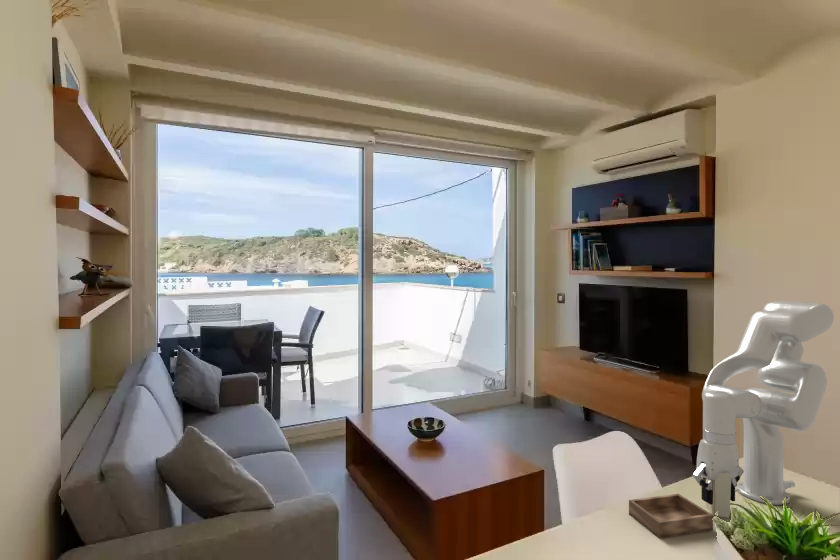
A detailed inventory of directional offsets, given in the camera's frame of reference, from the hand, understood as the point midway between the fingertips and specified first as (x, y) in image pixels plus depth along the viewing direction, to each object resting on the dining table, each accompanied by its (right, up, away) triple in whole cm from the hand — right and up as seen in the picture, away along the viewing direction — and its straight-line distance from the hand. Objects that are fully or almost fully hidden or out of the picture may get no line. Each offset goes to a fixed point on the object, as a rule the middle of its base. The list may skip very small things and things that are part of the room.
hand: (718, 500), depth 127 cm
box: (-16, -3, -5) cm, 17 cm away
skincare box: (0, -3, 0) cm, 3 cm away
